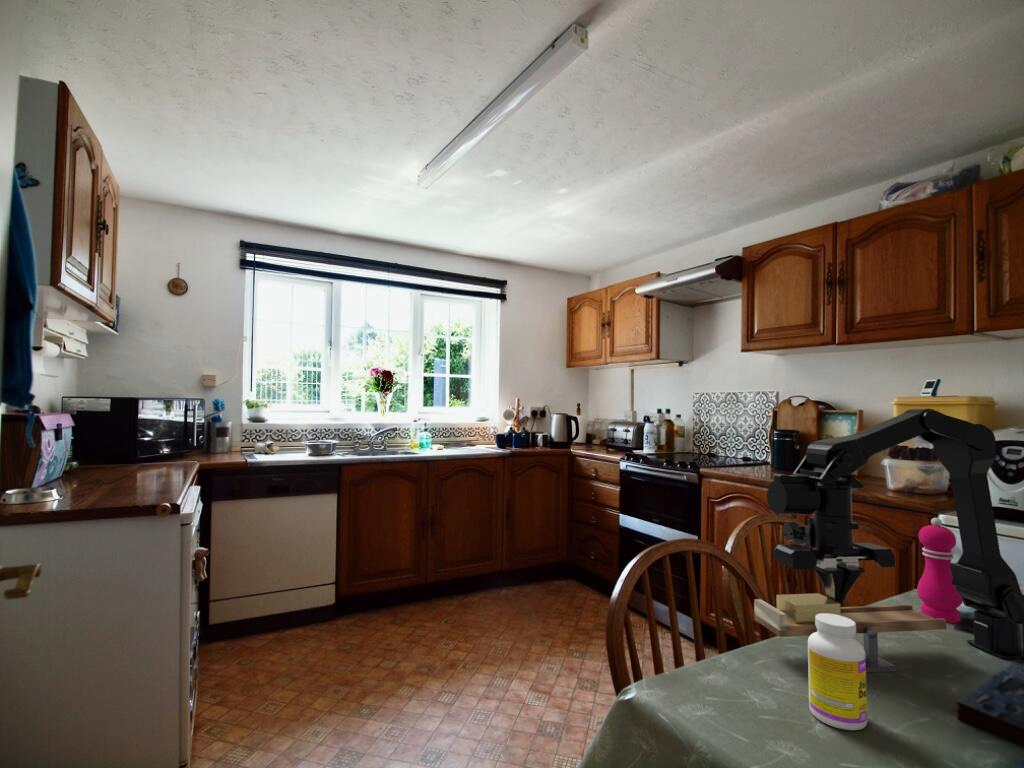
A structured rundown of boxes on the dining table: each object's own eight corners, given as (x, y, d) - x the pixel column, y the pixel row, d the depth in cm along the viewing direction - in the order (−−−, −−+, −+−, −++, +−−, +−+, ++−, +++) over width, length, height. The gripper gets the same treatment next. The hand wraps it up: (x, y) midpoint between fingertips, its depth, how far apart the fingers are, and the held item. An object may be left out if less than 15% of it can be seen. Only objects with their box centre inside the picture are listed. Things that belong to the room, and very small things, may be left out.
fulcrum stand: (839, 639, 94) (838, 604, 95) (895, 671, 82) (894, 631, 83) (809, 640, 94) (808, 605, 94) (861, 672, 82) (860, 632, 82)
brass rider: (819, 613, 90) (818, 593, 91) (840, 625, 85) (840, 603, 86) (776, 615, 89) (776, 594, 90) (796, 627, 84) (795, 605, 85)
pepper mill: (946, 611, 109) (942, 515, 110) (973, 624, 102) (968, 521, 103) (909, 609, 110) (906, 514, 111) (933, 623, 102) (929, 520, 104)
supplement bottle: (869, 739, 65) (865, 633, 65) (808, 722, 68) (805, 622, 69) (866, 713, 70) (863, 616, 71) (810, 699, 74) (807, 607, 75)
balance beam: (909, 613, 93) (908, 593, 94) (946, 629, 87) (945, 607, 87) (754, 619, 90) (754, 599, 90) (780, 637, 83) (779, 614, 83)
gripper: (846, 505, 98) (849, 589, 97) (754, 506, 96) (756, 592, 95) (896, 517, 87) (900, 611, 86) (794, 518, 85) (796, 615, 84)
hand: (835, 606), depth 88 cm, fingers closed
